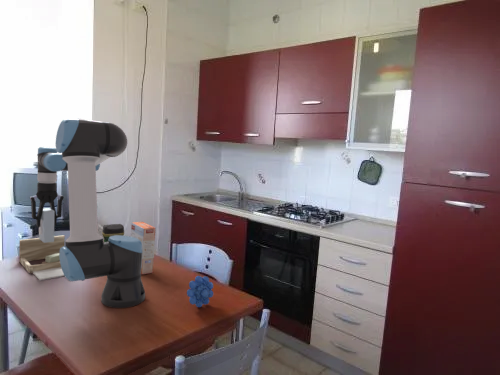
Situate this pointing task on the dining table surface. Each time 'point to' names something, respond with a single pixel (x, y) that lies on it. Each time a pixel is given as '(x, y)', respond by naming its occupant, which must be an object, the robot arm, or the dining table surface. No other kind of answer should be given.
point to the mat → (49, 273)
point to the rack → (39, 252)
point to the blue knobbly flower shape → (200, 291)
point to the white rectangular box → (47, 225)
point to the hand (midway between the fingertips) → (46, 233)
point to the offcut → (53, 258)
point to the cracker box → (145, 244)
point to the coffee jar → (112, 231)
